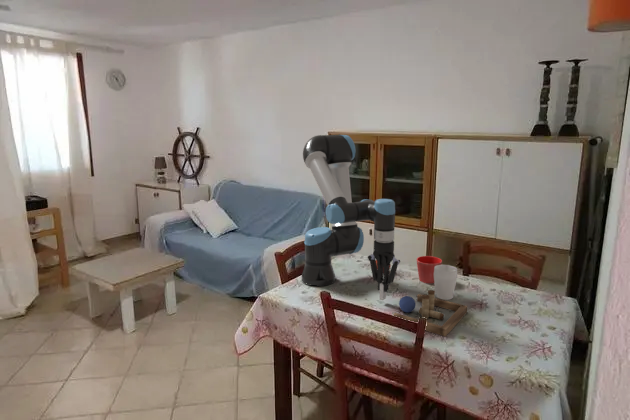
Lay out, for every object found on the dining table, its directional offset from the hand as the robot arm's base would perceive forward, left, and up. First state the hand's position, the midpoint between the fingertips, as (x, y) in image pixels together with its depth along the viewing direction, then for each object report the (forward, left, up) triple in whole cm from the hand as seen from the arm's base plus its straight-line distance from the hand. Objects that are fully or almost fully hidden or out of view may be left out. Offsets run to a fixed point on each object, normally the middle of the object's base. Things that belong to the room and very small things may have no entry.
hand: (382, 298), depth 162 cm
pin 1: (+18, -2, -2) cm, 19 cm away
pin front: (+15, 0, -1) cm, 15 cm away
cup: (+17, +20, -2) cm, 26 cm away
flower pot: (+5, +33, -2) cm, 33 cm away
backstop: (+19, 0, -2) cm, 19 cm away
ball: (+11, -1, +1) cm, 11 cm away
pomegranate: (-17, +31, -2) cm, 35 cm away
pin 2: (+18, +2, -2) cm, 19 cm away
